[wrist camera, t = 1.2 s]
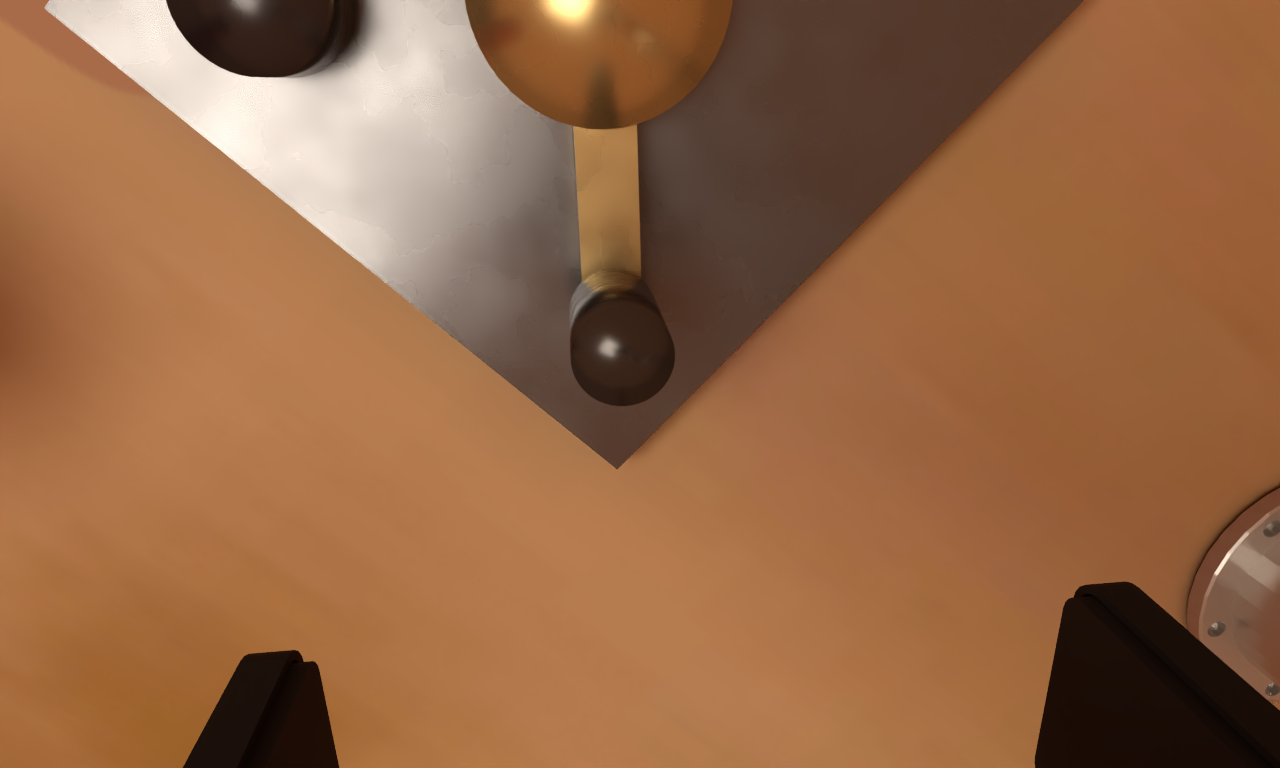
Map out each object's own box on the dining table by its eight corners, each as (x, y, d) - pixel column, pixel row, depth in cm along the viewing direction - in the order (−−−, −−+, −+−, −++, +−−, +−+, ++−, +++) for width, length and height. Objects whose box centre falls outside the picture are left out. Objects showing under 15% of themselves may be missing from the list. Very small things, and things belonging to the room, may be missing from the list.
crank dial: (457, -151, 24) (421, -230, 18) (722, -153, 25) (775, -231, 19) (502, 345, 30) (487, 414, 23) (719, 333, 30) (759, 398, 24)
